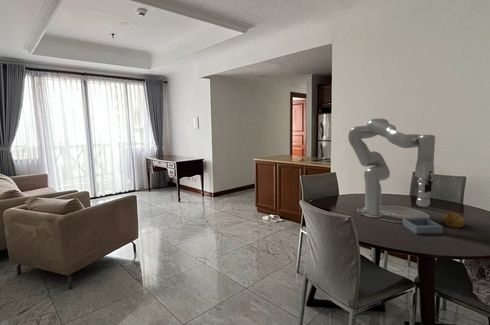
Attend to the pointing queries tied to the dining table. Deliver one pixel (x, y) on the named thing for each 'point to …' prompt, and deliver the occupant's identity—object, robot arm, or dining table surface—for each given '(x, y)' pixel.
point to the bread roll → (453, 220)
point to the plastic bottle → (422, 194)
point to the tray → (422, 226)
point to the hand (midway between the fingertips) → (423, 189)
